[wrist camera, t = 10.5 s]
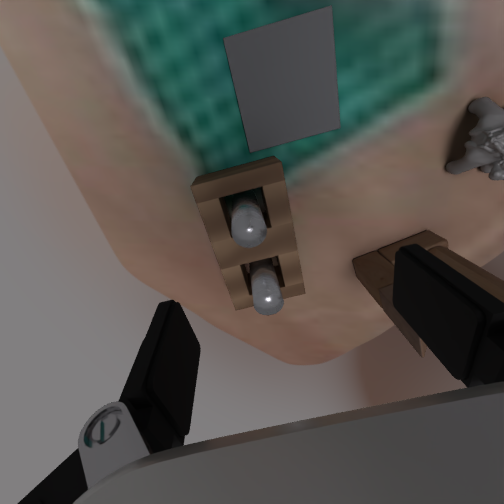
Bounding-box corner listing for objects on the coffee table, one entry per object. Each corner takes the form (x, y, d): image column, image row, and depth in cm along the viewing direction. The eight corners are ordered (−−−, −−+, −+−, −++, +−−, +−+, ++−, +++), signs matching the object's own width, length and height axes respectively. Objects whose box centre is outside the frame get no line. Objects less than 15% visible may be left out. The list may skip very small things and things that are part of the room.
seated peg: (245, 249, 33) (250, 295, 24) (267, 243, 33) (280, 288, 24) (251, 267, 34) (257, 318, 25) (272, 262, 34) (286, 311, 25)
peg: (228, 190, 29) (227, 220, 20) (253, 184, 29) (262, 210, 20) (235, 214, 31) (236, 251, 22) (259, 208, 30) (270, 242, 22)
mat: (223, 39, 23) (223, 38, 22) (330, 7, 22) (331, 5, 22) (250, 152, 27) (250, 152, 27) (339, 127, 27) (340, 128, 26)
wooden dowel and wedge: (351, 258, 35) (451, 373, 19) (428, 228, 33) (607, 324, 17) (356, 278, 36) (453, 399, 20) (430, 250, 35) (595, 356, 19)
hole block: (197, 176, 28) (190, 186, 24) (273, 155, 28) (281, 161, 23) (235, 287, 36) (235, 310, 31) (296, 272, 35) (305, 293, 31)
